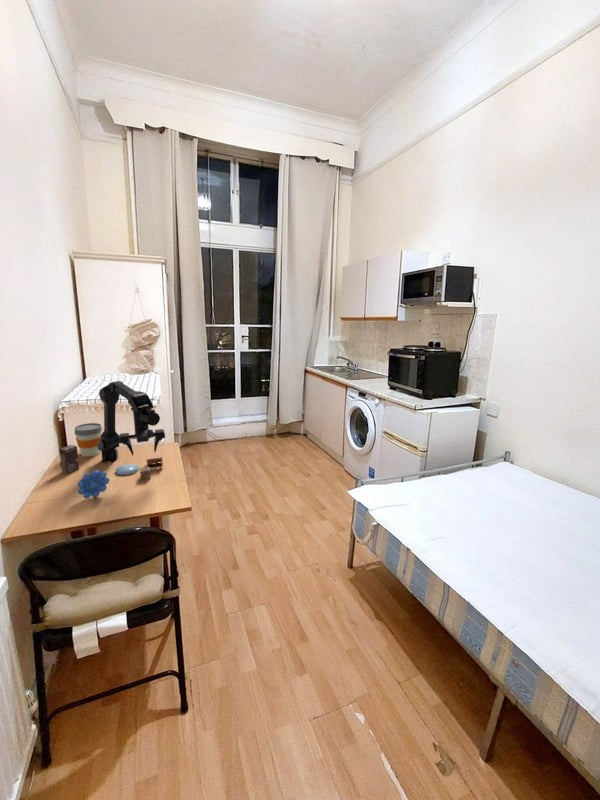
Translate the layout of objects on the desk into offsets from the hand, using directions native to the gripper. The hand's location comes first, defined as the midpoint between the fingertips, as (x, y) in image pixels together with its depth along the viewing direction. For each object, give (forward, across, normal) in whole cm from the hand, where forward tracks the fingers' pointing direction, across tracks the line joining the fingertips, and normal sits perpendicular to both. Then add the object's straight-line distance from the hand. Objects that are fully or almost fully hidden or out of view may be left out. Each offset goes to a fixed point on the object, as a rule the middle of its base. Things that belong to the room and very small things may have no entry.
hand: (144, 453), depth 161 cm
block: (+12, 0, 0) cm, 12 cm away
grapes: (+12, -20, -10) cm, 25 cm away
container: (+12, +4, +11) cm, 17 cm away
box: (+12, -32, +21) cm, 40 cm away
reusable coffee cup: (+12, -26, +41) cm, 50 cm away
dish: (+12, -8, +11) cm, 18 cm away
